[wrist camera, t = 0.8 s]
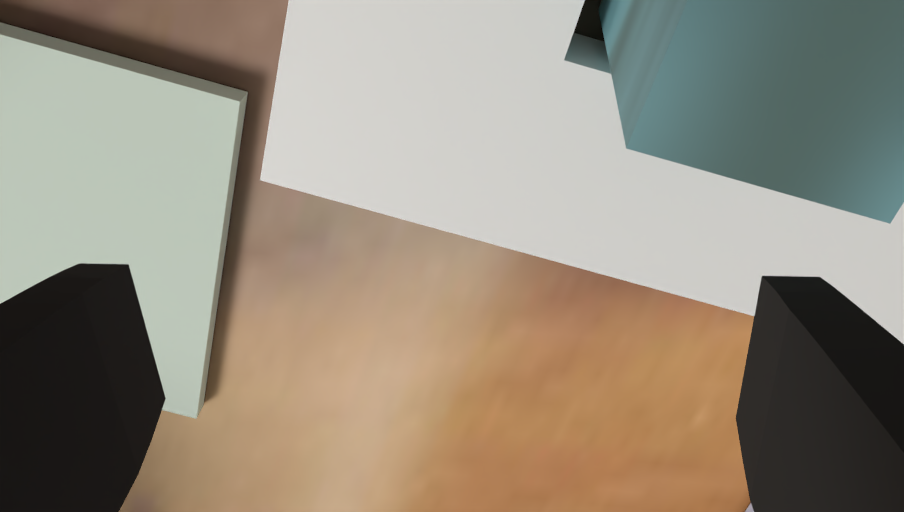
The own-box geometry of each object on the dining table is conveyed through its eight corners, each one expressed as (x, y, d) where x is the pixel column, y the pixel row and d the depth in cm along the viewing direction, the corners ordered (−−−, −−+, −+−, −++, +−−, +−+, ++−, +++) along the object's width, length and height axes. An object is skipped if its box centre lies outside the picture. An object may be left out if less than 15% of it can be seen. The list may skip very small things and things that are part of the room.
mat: (248, 92, 20) (240, 101, 19) (203, 404, 25) (196, 418, 24) (-193, -32, 19) (-213, -26, 18) (-142, 315, 24) (-157, 328, 24)
